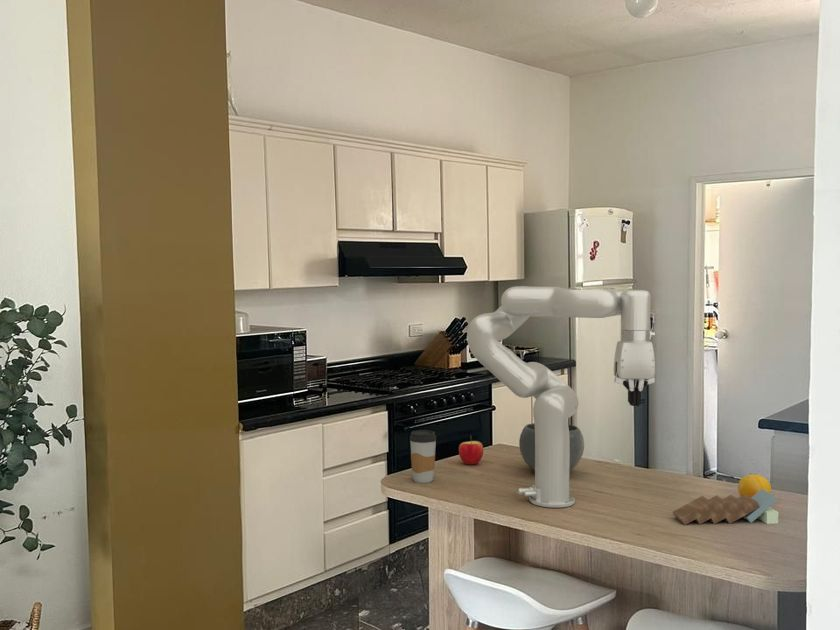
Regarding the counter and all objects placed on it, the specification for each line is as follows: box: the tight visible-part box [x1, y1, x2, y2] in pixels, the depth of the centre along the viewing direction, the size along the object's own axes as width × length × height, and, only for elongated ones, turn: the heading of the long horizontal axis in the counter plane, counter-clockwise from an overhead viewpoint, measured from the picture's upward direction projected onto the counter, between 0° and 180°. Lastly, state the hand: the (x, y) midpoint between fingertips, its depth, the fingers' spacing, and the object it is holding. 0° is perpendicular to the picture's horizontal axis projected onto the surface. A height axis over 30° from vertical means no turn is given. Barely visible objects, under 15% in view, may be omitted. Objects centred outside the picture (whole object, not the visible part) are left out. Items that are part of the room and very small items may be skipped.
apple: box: [458, 435, 484, 465], centre depth 268 cm, size 8×8×10 cm
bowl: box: [518, 422, 585, 472], centre depth 256 cm, size 20×20×15 cm
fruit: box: [737, 473, 772, 498], centre depth 223 cm, size 9×8×8 cm
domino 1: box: [672, 495, 715, 526], centre depth 207 cm, size 2×6×9 cm
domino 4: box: [722, 495, 760, 524], centre depth 208 cm, size 2×6×9 cm
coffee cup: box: [409, 429, 437, 484], centre depth 247 cm, size 8×8×15 cm
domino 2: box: [693, 495, 730, 525], centre depth 207 cm, size 2×6×9 cm
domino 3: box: [708, 494, 745, 525], centre depth 208 cm, size 2×6×9 cm
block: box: [757, 507, 779, 525], centre depth 209 cm, size 3×8×3 cm, turn 5°
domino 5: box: [741, 489, 778, 524], centre depth 209 cm, size 2×6×9 cm
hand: (634, 405), depth 212 cm, fingers closed
